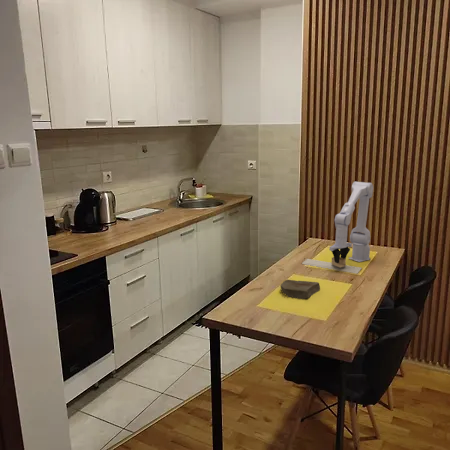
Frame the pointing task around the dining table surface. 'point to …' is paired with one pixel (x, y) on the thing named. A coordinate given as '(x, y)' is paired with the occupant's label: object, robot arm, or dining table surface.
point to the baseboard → (328, 265)
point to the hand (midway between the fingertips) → (339, 261)
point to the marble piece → (299, 288)
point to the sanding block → (341, 263)
